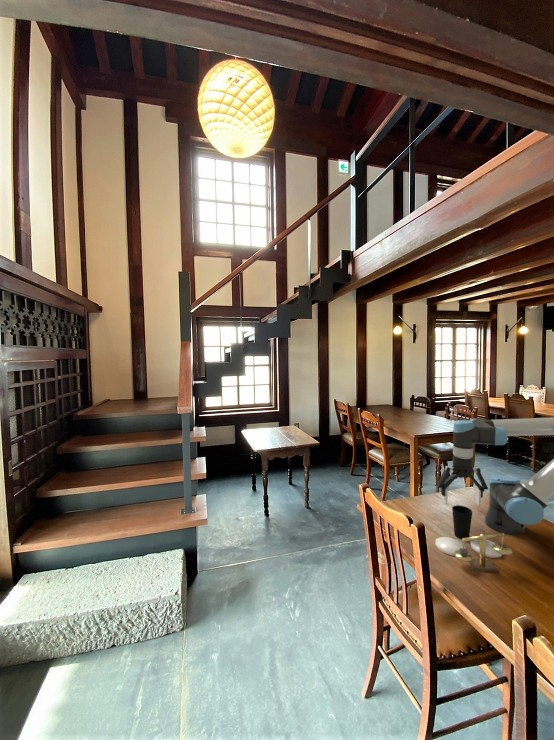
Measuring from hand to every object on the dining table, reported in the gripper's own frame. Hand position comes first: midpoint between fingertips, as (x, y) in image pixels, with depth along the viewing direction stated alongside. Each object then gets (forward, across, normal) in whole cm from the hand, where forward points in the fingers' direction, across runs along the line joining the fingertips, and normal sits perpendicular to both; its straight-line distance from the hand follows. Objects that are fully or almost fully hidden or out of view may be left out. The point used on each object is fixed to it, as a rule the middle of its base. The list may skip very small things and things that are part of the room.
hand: (461, 503), depth 138 cm
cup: (+15, 0, 0) cm, 15 cm away
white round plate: (+14, -6, +9) cm, 18 cm away
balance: (+15, +1, +20) cm, 25 cm away
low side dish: (+15, +8, +9) cm, 19 cm away
